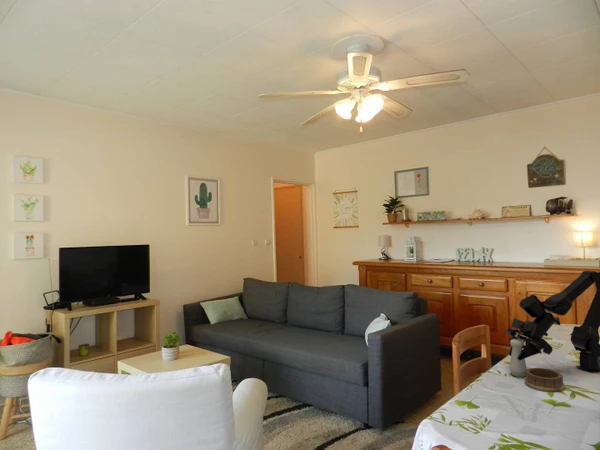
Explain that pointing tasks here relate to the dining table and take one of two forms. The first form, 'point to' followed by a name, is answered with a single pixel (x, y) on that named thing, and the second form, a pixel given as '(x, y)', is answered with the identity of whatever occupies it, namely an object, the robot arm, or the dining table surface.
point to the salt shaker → (517, 365)
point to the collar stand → (544, 380)
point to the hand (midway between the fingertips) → (514, 357)
